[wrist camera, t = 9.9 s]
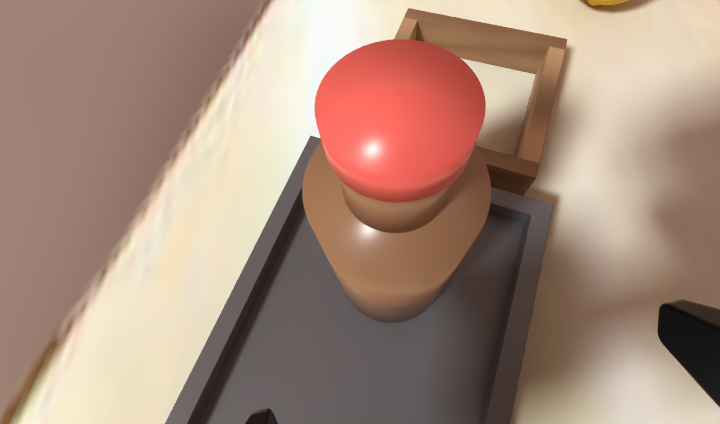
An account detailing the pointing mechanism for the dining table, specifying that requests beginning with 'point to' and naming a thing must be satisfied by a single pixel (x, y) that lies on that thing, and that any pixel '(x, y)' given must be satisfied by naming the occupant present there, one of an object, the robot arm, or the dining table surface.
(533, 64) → the stand
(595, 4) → the lemon
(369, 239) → the bottle
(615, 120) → the dining table surface
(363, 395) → the tray
